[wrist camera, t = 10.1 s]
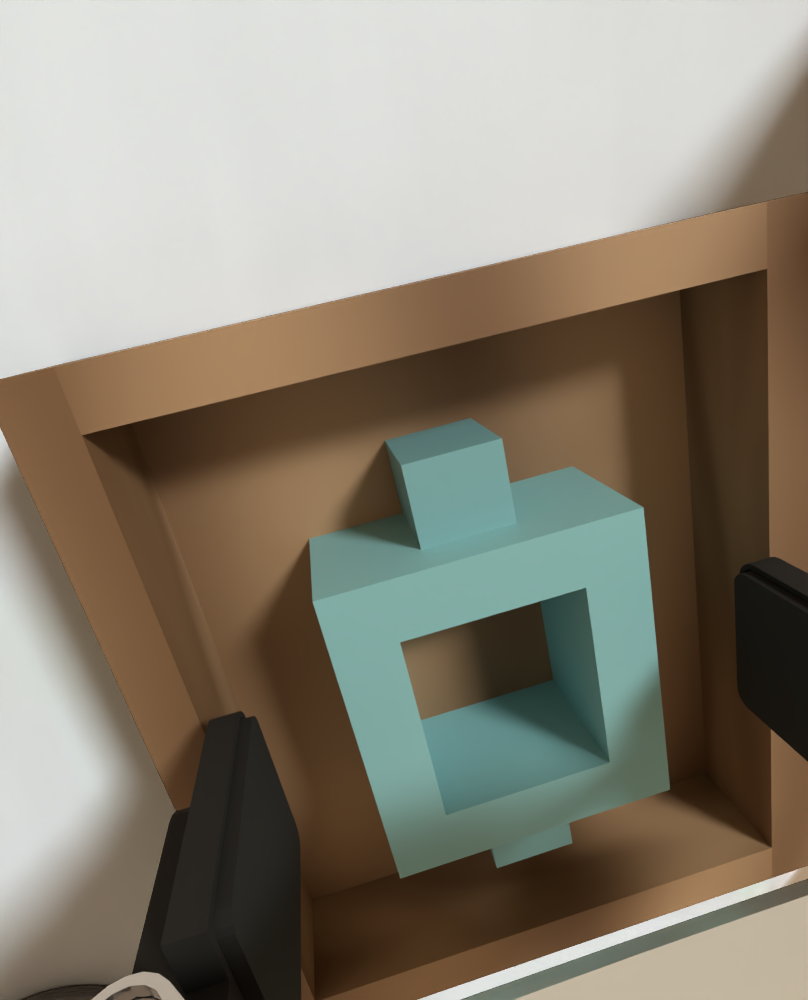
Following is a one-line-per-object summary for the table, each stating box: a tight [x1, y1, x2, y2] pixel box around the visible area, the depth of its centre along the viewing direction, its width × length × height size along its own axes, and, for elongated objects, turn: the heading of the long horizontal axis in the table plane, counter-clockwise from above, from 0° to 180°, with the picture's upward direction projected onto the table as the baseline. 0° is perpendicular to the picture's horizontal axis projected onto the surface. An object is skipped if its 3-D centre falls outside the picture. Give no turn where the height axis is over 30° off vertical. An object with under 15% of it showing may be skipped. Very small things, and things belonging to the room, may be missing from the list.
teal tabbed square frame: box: [309, 418, 670, 879], centre depth 12 cm, size 10×6×3 cm, turn 13°
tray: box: [0, 192, 808, 1000], centre depth 13 cm, size 13×15×3 cm
